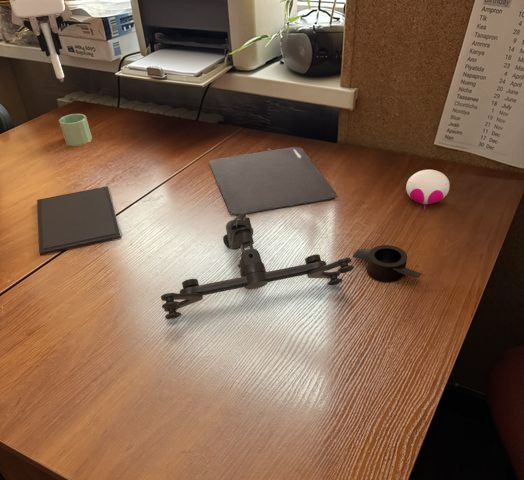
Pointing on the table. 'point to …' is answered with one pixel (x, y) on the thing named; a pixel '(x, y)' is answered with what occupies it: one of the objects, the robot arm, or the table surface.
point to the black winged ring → (385, 263)
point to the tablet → (76, 220)
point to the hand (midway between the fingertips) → (53, 53)
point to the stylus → (52, 51)
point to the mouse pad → (269, 180)
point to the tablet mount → (250, 270)
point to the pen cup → (75, 129)
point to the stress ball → (427, 186)
